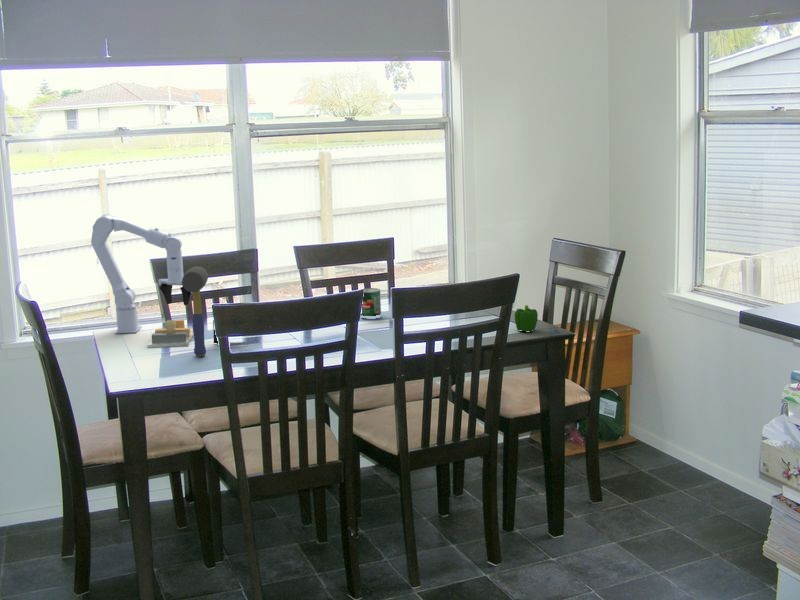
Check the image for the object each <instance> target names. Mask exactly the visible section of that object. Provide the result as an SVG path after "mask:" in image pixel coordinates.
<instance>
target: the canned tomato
mask: <svg viewBox="0 0 800 600" xmlns="http://www.w3.org/2000/svg"><path fill="white" fill-rule="evenodd" d="M360 290H363V291H364V297H363V304H362V314H361V313H360V317H361V316H362V315H363V316H376V315H380V314H381V315H382V310H381V309H382V308H381V306H382V305H381V289H380V288H374V287H371V288H369V287H368V288H362V289H360Z"/></svg>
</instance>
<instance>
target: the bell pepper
mask: <svg viewBox="0 0 800 600" xmlns="http://www.w3.org/2000/svg"><path fill="white" fill-rule="evenodd" d="M538 316H539V315H538V311H537V309H534V308H533V309H531V308H530V307H529V305H528V304H526V305H524V309H522V308H516V310H515V312H514V322H515V327H516V330H517V331H518V330H522V331H532V330H533V331H534V330H535V329H536V327H537V323H538ZM533 331H532V332H533Z"/></svg>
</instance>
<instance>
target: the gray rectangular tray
mask: <svg viewBox="0 0 800 600" xmlns="http://www.w3.org/2000/svg"><path fill="white" fill-rule="evenodd" d="M193 339H194V333H193V327H190V335H189V336H187V332H175V333H155V332H154V333H152V334H151V339H150V341H148V343H147V348H148V349H149V348H150V349H151V348H168V347H169V348H170V346H174V347H188V345H190V344H189V343H191V342H190V341H192V340H193Z"/></svg>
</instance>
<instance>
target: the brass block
mask: <svg viewBox="0 0 800 600" xmlns="http://www.w3.org/2000/svg"><path fill="white" fill-rule="evenodd" d="M172 320H173V321H168V320H166V321H165V323H164V326H165V328H166V333H175V332H176V321H175V319H172Z"/></svg>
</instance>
